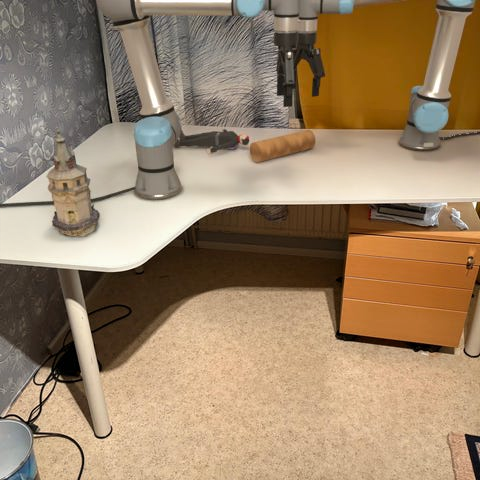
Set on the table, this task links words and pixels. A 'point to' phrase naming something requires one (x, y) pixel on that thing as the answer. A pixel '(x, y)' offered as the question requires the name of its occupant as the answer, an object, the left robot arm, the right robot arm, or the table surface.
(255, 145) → the rod
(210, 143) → the toy
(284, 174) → the table surface
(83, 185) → the miniature building
